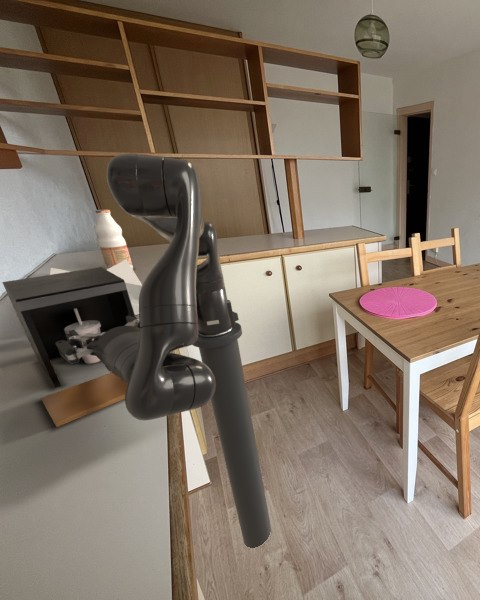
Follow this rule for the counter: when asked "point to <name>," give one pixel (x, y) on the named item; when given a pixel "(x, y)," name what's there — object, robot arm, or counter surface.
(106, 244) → the fruit juice
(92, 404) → the board
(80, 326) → the smoothie
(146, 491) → the counter surface
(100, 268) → the shelf
